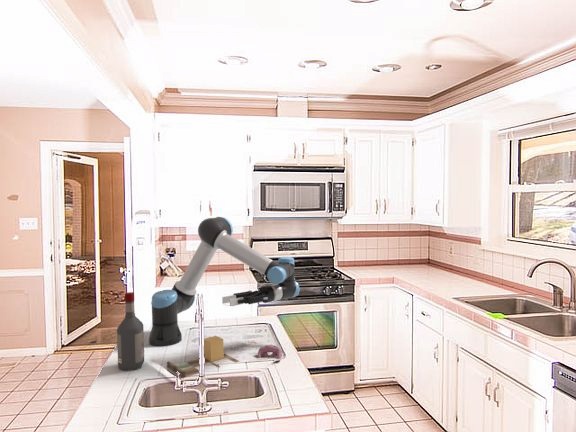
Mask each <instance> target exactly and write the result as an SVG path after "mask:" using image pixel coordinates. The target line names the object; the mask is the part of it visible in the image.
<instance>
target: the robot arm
mask: <svg viewBox="0 0 576 432" xmlns="http://www.w3.org/2000/svg"><path fill="white" fill-rule="evenodd" d="M197 233H198V237H199V239H200V243H199V245H198V247H197V249H196V251H195V252H194V254H193V256H192V258H191V260H190V262H189V264H188V265H187V267H186V269H185V271H184V273H183V274H182V276H181V278H180V280H178V281H176V282H175V283H174V284H173V287H172V288H171V289H162V290H159V291H156V292H155V293H153V294H152V297H151V302H150V305H151V322H152V326H151V329H150V333H149V336H148V343H149V345H151V346H154V347H155V346H156V347H158V346H159V347H164V346H167V347H168V346H171V345H176V344H178V343H180V342H181V341H182V339H183V338H182V337H183V336H182V332H181V330H180V329H181V328H180V327H179V324H178V322H179V321H178V314H181V313H182V312H185V311H187V310H189V309H190V308H191V307H192V306H193V305H194V303H195V300H196V295H197V290H196V288H197V286H198V285H199V283H200V281H201V280H202V277H203V275H204V274H205V272H206V269H208V267H209V264H210V263H211V261H212V259H213V257H214V256H215V253H216V252H217V250H220V251H223V252H225V253H226V254H228V255H230V256H231V257H233V258H234V259H236V260H238V261H240V262H241V263H243V264H244V265H246V266H248V267H250V268H251V269H253V270H254V271H257V272H258V273H259V274H262V275H263V276H265V277H267V280H268V281H269V282H270V283H271V284H269V285H263V286H261V287H260V288H259V290H254V291H252V290H247V291H242V292H235V293H233V294H232V295H227V296H222V304H229V306H230V307H235V306H238V305H243V304H245V305H246V304H248V305H253V304H256V303H257V304H258V303H264V304H266V303H271V302H274V303H276V302H277V301H281V300H287V299H292V298H295V297H297V296H299V294H300V291H301V289H300V284H299V283H298V282H297V281H296V280H295V258H294V257H292V256H281V257H278V260H277V262H276V261H274V260H273V259H271V258H270V257H267V255H265V254H263V253H261V252H259V251H257V250H255V249H254V248H252V247H250V246H248V245H247V244H245V243H244V242H242V241H240V240H238V239H237V238H235V237H234V236H232V235H233V233H234V227H233V224H232V223H231V221H230V220H229V219H228V218H226V217H224V216H216V217H208V218H205V219H203V220H202V221H201V222H200V223H199V225H198V228H197Z"/></svg>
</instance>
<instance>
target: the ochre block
mask: <svg viewBox="0 0 576 432" xmlns="http://www.w3.org/2000/svg"><path fill="white" fill-rule="evenodd" d="M203 339H204V346H203V355H204V354H205V359H207V360H209V361H213V362H216V361H215V360H217V361H219V360H218V359H221V360H223V359H222V358H224V354H225V353H224V350H225V349H224V338H222V337H220V336H217V335H213V336H209V337H204V338H203ZM224 359H225V358H224Z"/></svg>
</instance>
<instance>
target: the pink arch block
mask: <svg viewBox="0 0 576 432" xmlns="http://www.w3.org/2000/svg"><path fill="white" fill-rule="evenodd" d="M269 353H271V354H270V357H275V358H277V359H278V360H277V362H278V363H280V362H281V358H282V349H281V348H280V347H279V346H277V345H275V344H274V345H273V344H266V345H262V346H260V347H259V349H258V352H257V359H261V358H262V357H269Z"/></svg>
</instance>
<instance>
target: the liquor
mask: <svg viewBox="0 0 576 432" xmlns="http://www.w3.org/2000/svg"><path fill="white" fill-rule="evenodd" d="M124 303H125V305H124V306H125V315H124V318H123V319H122V321H121V322H120V324H119V325H118V327H117V329H116V338H117V344H116V345H117V346H116V347H117V368H118V369H119V370H120V371H126V372H127V371H137V370H139V369H141V368H142V366H143V365H144V363H145V334H144V333H145V332H144V324H143V321H141V320H140V319H139V318H138V317H137V316H136V313H135V292H131V291H130V292H125V293H124Z"/></svg>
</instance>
